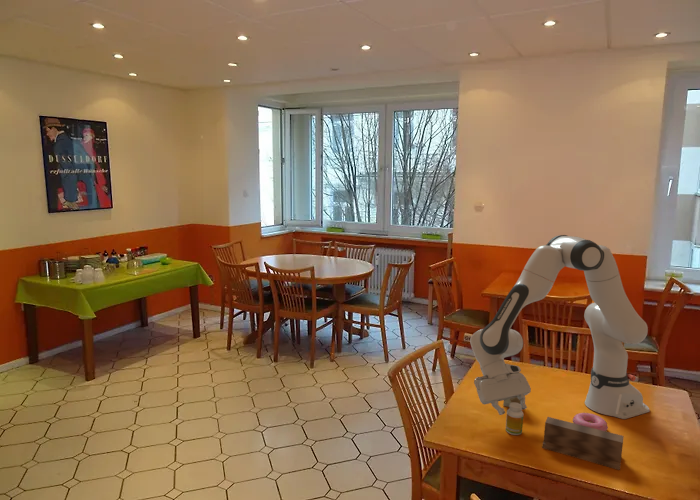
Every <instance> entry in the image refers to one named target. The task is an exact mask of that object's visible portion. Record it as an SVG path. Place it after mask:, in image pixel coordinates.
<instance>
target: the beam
mask: <svg viewBox="0 0 700 500" xmlns="http://www.w3.org/2000/svg"><path fill="white" fill-rule="evenodd" d="M543 432H544V433H543V442H542V446H541V447H542V449H545V450H548V451H552V452H555V453H559V454H562V455H565V456H569V457H573V458H576V459H580V460H583V461H586V462H590V463H594V464H597V465H600V466H604V467H608V468H612V469H615V470H618V471H621V466H622V465H621V464H622V463H621V462H622V455H623V445H624V438H625V437H624V435H622V434H621V435H620V434H617V433H613V432H609V431H602V430H598V429H594V428H590V427H586V426H582V425H578V424H575V423H573V422H570V421H566V420H562V419H558V418H555V417H551V416H547V417H546V420H545V422H544V431H543Z"/></svg>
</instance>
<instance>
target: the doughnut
mask: <svg viewBox="0 0 700 500" xmlns="http://www.w3.org/2000/svg"><path fill="white" fill-rule="evenodd" d="M572 423H575V424H578V425H582V426H586V427H590V428H594V429H598V430H602V431H606V432H608V431H607V430H608V429H609V426H608V423H607V422H606V420H605V419H604V418H602V417H601V416H599V415H596V414H594V413H589V412H580V413H576V414H575V415H574V417H573V418H572Z"/></svg>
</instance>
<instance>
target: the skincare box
mask: <svg viewBox="0 0 700 500" xmlns="http://www.w3.org/2000/svg"><path fill="white" fill-rule="evenodd" d="M512 402H515V403H519V404H521V403H520V400H519V399H518V397H516V398H512V399H507V400H503V403H502V405H503V407H508V408H509V404H510V403H512Z"/></svg>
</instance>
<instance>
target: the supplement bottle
mask: <svg viewBox="0 0 700 500" xmlns="http://www.w3.org/2000/svg"><path fill="white" fill-rule="evenodd" d="M523 423H524V412H523V410H522V405H521V404H519V403H515V402H512V403H510V404H509V407H508V409H507V410H506V419H505V431H506V432H507V433H508V434H510V435H512V436H519V435H522V433H523V427H524V426H523V425H524V424H523Z"/></svg>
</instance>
